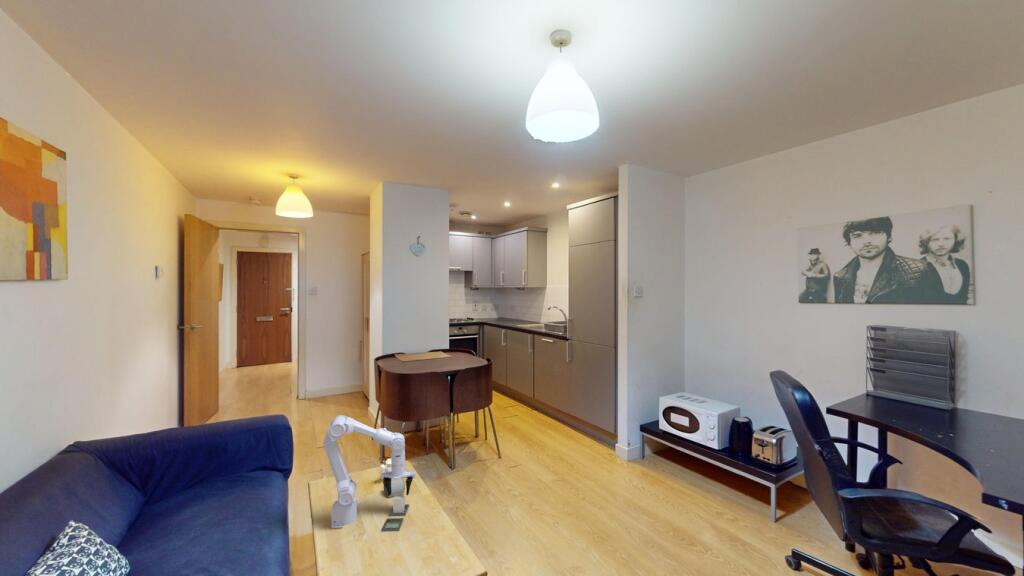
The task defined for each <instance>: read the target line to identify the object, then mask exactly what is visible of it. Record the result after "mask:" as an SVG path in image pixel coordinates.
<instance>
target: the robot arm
mask: <svg viewBox="0 0 1024 576" xmlns="http://www.w3.org/2000/svg"><path fill="white" fill-rule="evenodd" d="M352 433H357V434H360V435H364V436H367V437H370V438H372V440H373V441H374V442H375V443H377V444H381V445H383V446H385V447H390V449H391V453H390V454H391V455H390V459H391V470H392V471H391V472H385V471H384V473H382V472H381V474H380V479H381V480H382V483H383V486H384V485H385V487H386V489H387V491H388V492H387V495H388V497H389V496H390V495H391V492H392V490H391V479H392V478H393V479H399V478H402V479H405V478H406V479H405V488H406V491H405V493H406V495H405V496H409V494H410V489H411V485H412V482H413V479H416V477H417V471H410V470H406V451H405V450H406V449H405V447H406V443H405V442H406V440H405V436H404V434H402V433H401V432H392V431H390V430H387V428H386V427H383V428H382V427H379V428H377V429H376V428H373V427H372V426H369V425H366V424H365V423H362V422H360V421H358V420H355V419H354V418H352V417H350V416H346V415H344V414H343V415H342V414H339V415H337V416H335V417H334V419H332V421H331V422H330V423H329V426H328V428H327V430H326V433H325V436H324V440H323V442H322V445H323V448H324V451H325V453H326V457H327V459H328V462H329V465H330V468H331V471H332V473H333V476H334V480H335V483H336V491H337V500H335V501H333V503H332V506H331V510H330V511H331V517H330V518H331V526H330V529H341V528H344V527H345V526H347V525H351V524H353V523H355V522H356V521H357V519H358V502H357V501H358V498H357V496H356V494H355V493H356V489H357V486H358V485H357V483H356V482H355V480H353V479H352V476H351V475H350V474H349V471H348V469H347V466H346V464H345V461H344V458H343V455H342V452H341V449H340V445H339V444H338V442H339V439H340V438H342V437H343V436H344V434H346V436H347V435H350V434H352Z"/></svg>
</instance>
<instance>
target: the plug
mask: <svg viewBox="0 0 1024 576" xmlns="http://www.w3.org/2000/svg"><path fill="white" fill-rule="evenodd" d="M405 496H406V495H405V493H402V492H397V494H395V496H393V497H392V506H393V512H392V513H403V512H404V509H405V504H406V500H405V498H406V497H405Z"/></svg>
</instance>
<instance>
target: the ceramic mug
mask: <svg viewBox="0 0 1024 576" xmlns="http://www.w3.org/2000/svg"><path fill="white" fill-rule="evenodd" d="M405 488H406V482H405V481H404V478H399V479H394V478H393V479H391V490H392V492H391V495H390V496H389V495H388V496H387V498H388V499H389V498H391V497H392V498H393V497H394V496H395V494H397V492H402V494H404V492H405ZM386 493H387V494H388V491H387V489H386V487H385V485H384V484H383V494H386Z"/></svg>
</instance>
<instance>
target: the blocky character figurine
mask: <svg viewBox="0 0 1024 576" xmlns="http://www.w3.org/2000/svg"><path fill="white" fill-rule="evenodd" d="M379 470H380V471H381V470H382V471H381V474H382V473H385V472H391V471H392V470H391V458H387V459H386V461H385V464H380V466H379ZM392 479H394V478H392Z"/></svg>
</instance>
